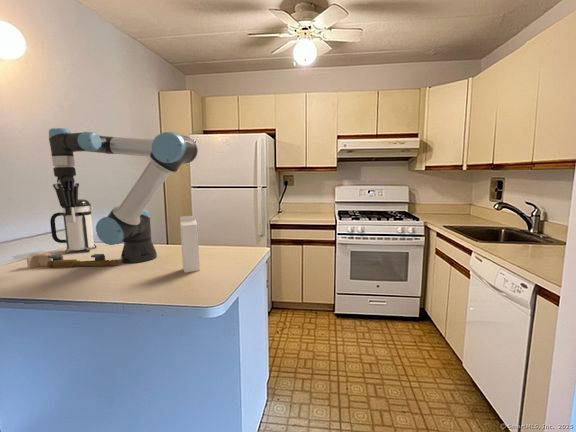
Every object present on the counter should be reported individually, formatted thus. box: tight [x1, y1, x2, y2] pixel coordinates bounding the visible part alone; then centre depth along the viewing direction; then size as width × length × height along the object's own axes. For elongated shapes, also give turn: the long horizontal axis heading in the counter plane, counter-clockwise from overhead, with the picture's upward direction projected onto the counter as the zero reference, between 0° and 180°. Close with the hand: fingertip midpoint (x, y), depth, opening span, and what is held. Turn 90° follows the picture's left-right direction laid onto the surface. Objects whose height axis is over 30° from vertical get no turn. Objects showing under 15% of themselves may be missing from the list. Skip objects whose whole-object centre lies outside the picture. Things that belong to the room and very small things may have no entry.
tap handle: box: [47, 259, 119, 269], centre depth 136 cm, size 3×3×30 cm
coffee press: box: [49, 198, 97, 255], centre depth 164 cm, size 17×16×30 cm
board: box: [26, 252, 106, 270], centre depth 138 cm, size 33×9×6 cm, turn 89°
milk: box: [179, 215, 201, 273], centre depth 126 cm, size 6×6×22 cm
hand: (71, 222), depth 134 cm, fingers closed
